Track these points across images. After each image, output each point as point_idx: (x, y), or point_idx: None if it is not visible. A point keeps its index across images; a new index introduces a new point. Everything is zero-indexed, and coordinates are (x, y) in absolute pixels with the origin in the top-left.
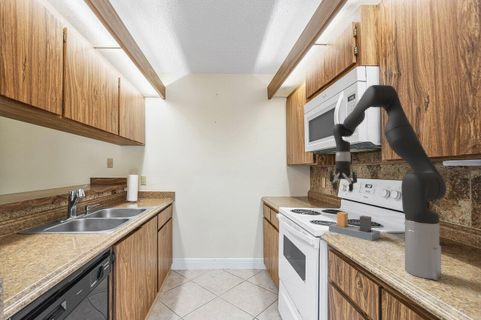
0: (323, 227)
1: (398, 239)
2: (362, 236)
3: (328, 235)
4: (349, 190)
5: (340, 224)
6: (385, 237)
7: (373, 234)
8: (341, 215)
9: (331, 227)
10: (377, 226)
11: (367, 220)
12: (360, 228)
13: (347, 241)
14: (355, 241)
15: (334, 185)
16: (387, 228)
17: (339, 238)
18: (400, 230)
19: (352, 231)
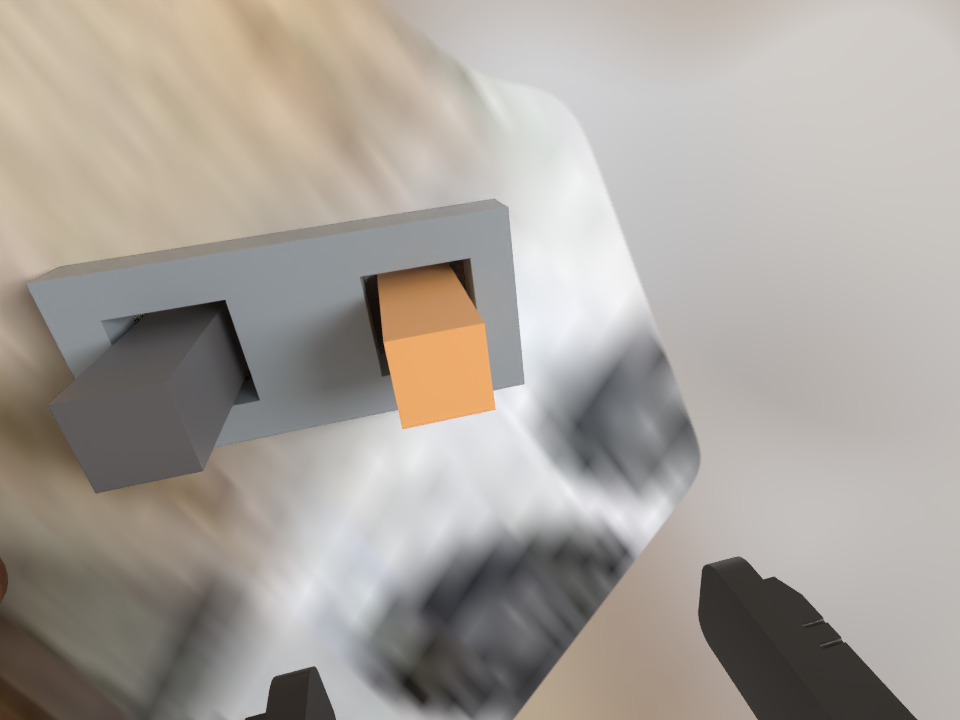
0: (599, 263)
1: (36, 508)
2: (144, 257)
3: (384, 36)
4: (293, 681)
5: (420, 288)
6: None
7: (49, 321)
8: (419, 324)
9: (475, 209)
10: (388, 653)
11: (72, 386)
12: (197, 326)
13: (124, 10)
14: (96, 97)
15: (801, 659)
16: (317, 669)
17: (249, 40)
18: (239, 700)
19: (243, 247)
